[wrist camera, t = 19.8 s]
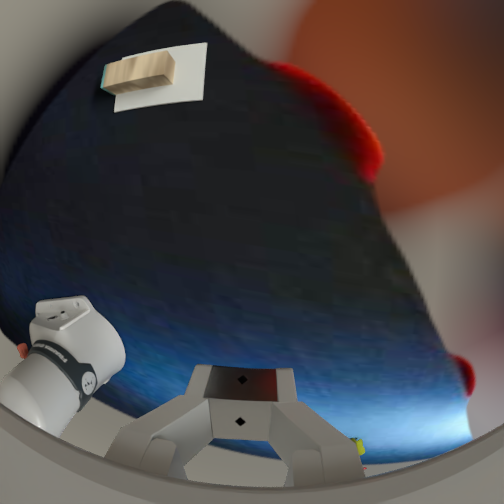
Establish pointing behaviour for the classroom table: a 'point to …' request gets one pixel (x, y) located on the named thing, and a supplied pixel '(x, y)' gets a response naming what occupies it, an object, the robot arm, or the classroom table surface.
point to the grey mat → (184, 83)
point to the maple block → (139, 73)
